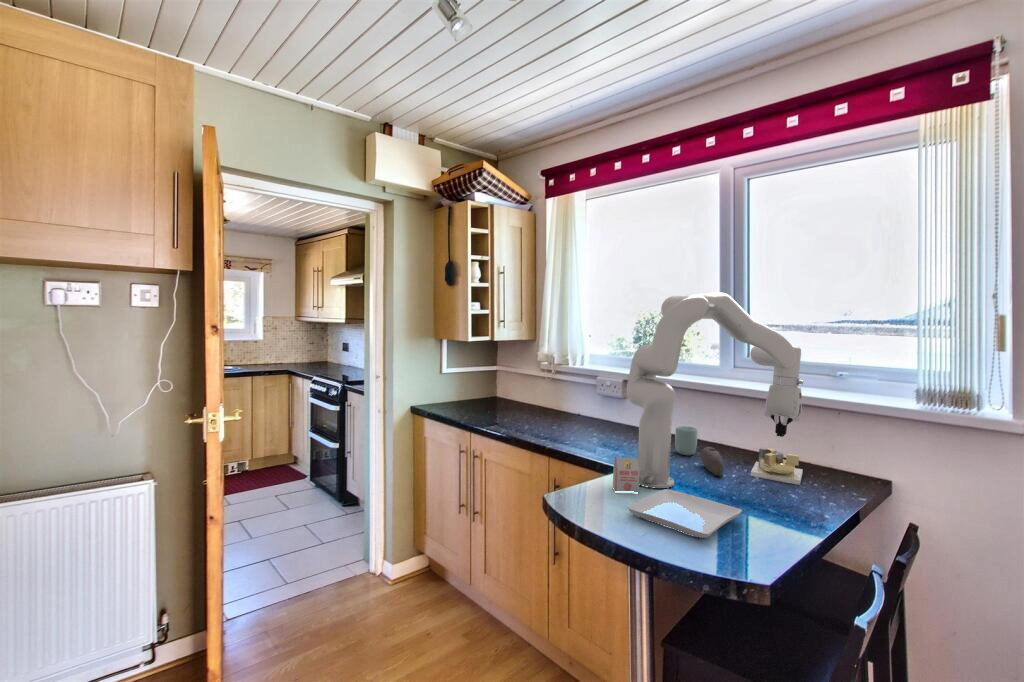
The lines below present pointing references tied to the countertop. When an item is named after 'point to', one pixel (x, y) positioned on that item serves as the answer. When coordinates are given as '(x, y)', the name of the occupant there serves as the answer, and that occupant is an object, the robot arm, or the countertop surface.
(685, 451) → the cup
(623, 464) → the printed carton box
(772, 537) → the countertop surface
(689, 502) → the salad plate
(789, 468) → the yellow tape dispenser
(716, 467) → the brown oval lump
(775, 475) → the housing
